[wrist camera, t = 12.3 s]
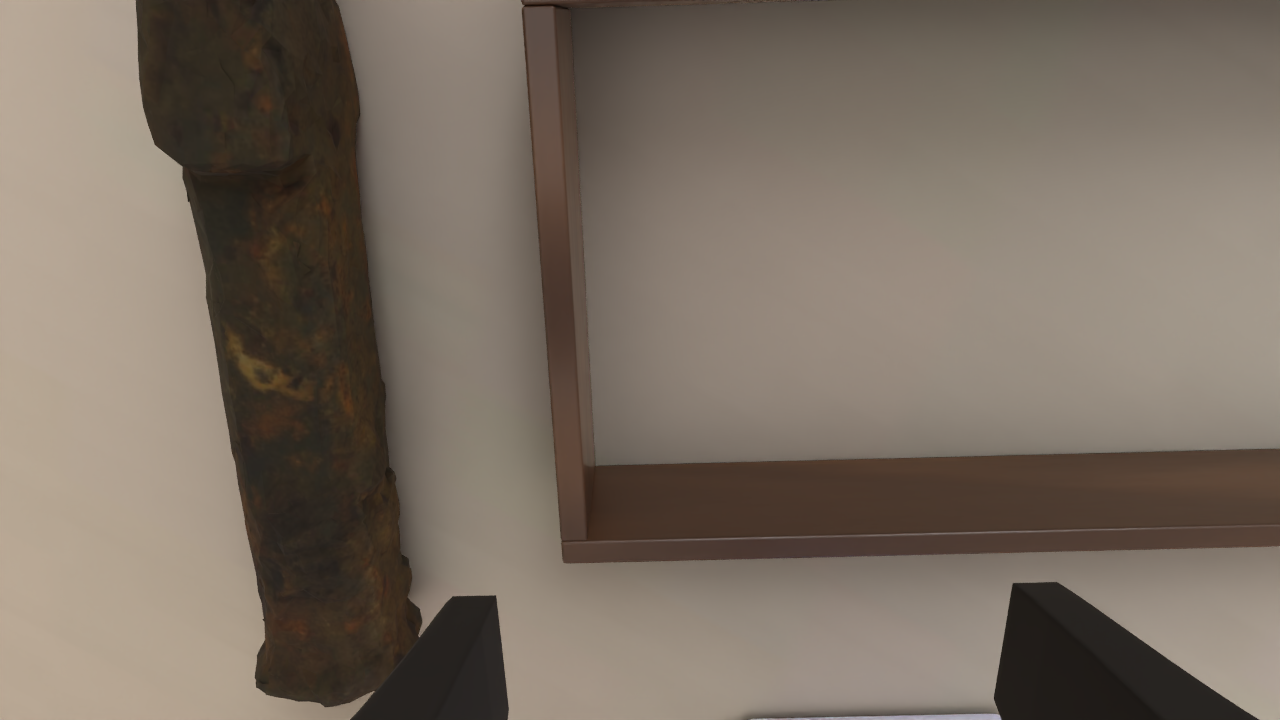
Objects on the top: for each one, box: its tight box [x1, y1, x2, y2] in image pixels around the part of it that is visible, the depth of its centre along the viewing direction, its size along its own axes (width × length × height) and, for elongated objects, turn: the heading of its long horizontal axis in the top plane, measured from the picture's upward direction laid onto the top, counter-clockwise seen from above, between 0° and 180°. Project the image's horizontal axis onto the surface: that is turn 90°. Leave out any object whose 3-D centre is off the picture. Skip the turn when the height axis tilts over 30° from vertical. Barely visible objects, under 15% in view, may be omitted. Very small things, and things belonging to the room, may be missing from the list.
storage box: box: [521, 0, 1280, 563], centre depth 18 cm, size 12×23×4 cm, turn 92°
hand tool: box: [136, 0, 422, 707], centre depth 18 cm, size 19×4×5 cm, turn 176°
